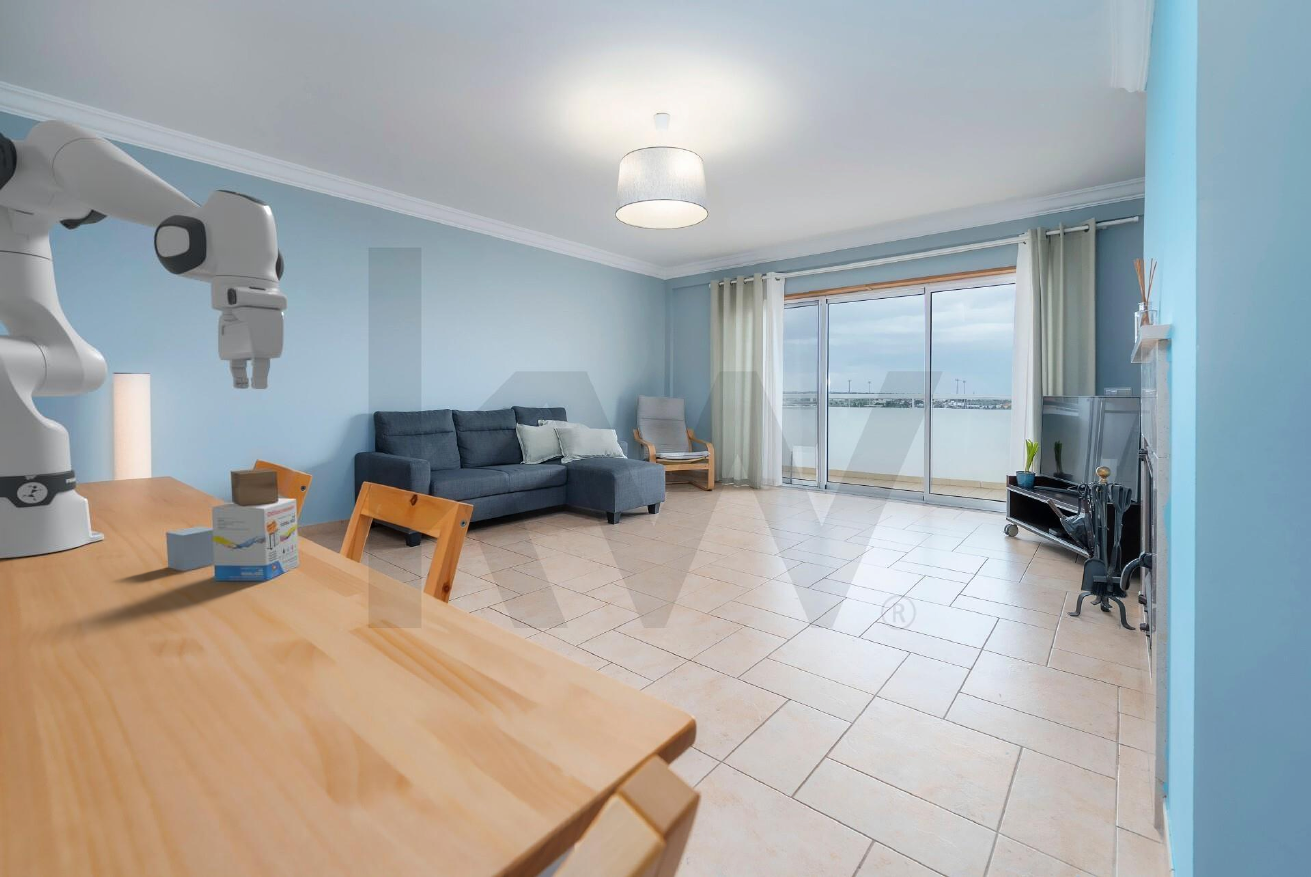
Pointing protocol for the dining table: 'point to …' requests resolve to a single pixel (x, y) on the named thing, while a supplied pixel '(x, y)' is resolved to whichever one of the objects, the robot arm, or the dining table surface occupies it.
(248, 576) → the ink box
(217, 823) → the dining table surface
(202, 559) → the slate block
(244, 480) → the walnut block
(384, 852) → the dining table surface
